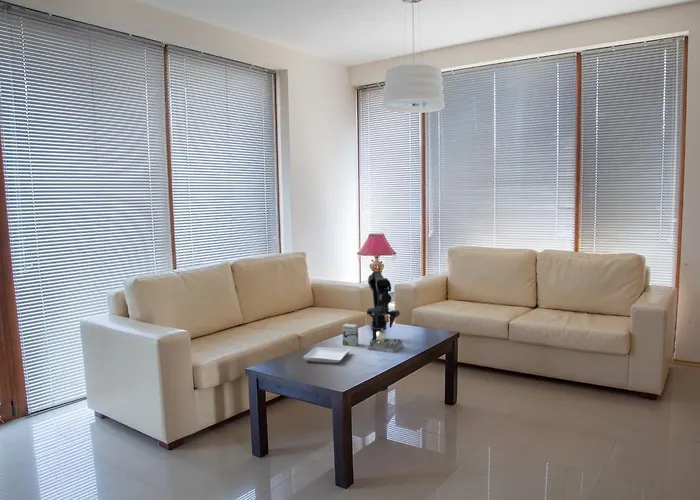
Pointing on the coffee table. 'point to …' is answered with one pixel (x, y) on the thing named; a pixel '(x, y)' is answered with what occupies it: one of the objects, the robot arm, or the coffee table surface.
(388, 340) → the gearbox
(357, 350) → the coffee table surface
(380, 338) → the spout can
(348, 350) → the salad plate
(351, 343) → the ink box
